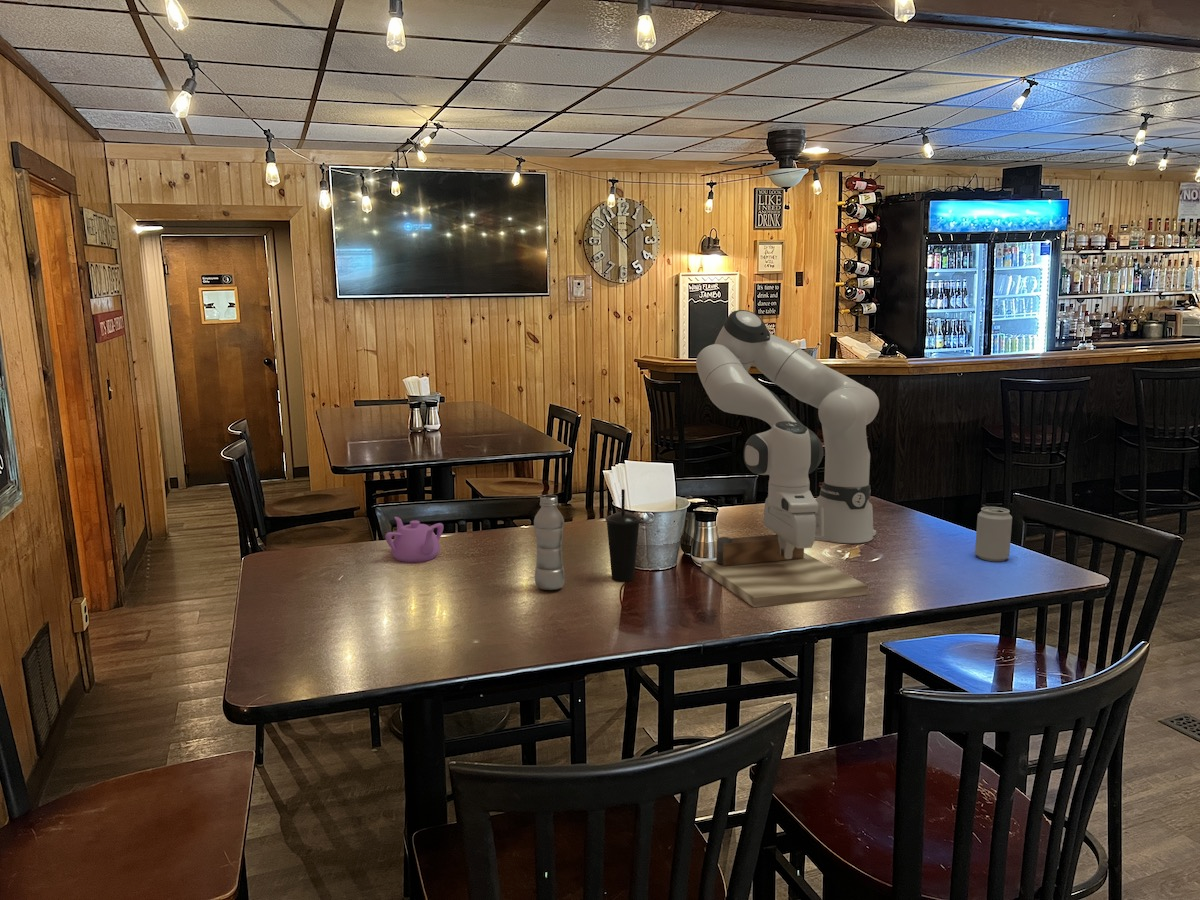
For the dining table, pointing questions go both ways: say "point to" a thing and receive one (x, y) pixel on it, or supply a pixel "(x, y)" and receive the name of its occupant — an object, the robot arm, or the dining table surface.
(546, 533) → the plastic bottle
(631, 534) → the drinking cup
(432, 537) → the teapot
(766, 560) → the walnut leg
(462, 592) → the dining table surface
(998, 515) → the can
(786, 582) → the stool seat
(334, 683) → the dining table surface
